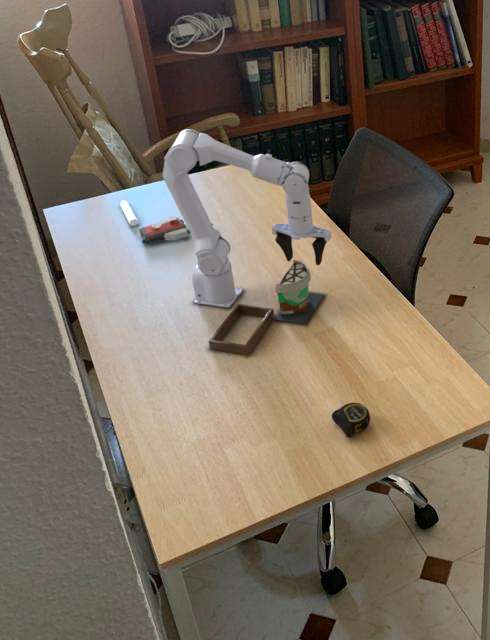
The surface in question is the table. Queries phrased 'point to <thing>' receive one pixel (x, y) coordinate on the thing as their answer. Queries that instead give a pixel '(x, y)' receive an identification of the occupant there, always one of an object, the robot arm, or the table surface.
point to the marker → (129, 213)
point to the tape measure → (352, 418)
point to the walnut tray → (239, 309)
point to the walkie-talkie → (164, 231)
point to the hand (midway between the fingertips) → (304, 261)
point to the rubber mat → (304, 316)
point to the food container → (294, 290)
